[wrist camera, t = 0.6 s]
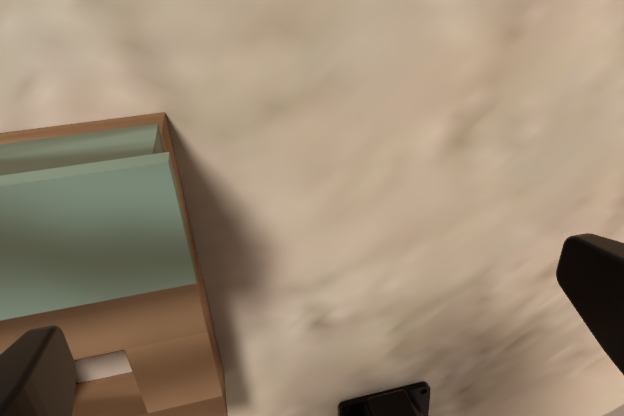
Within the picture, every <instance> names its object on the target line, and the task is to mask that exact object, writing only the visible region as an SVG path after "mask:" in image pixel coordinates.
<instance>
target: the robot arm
mask: <svg viewBox="0 0 624 416" xmlns="http://www.w3.org/2000/svg"><path fill="white" fill-rule="evenodd" d="M556 277H557V281H558V283H559V285H560V286H561V288H562V289H563V291H564V292H565V294H566V295H567V297H568V298H569V300H570V301H571V303H572V304H573V306H574V307H575V309H576V310H577V312H578V313H579V315H580V316H581V318H582V319H583V320H584V322H585V323H586V325H587V326H588V328H589V329H590V331H591V332H592V334H593V335H594V337H595V338H596V340H597V341H598V343H599V344H600V345H601V347H602V348H603V350H604V351H605V352H606V354H607V355H608V356H609V357H610V359H611V360H612V361H613V362H614V364H615V365H616V366H617V367H618V369H619V370H620V371H621V372H622V373H623V375H624V243H621V242H618V241H615V240H611V239H608V238H604V237H601V236H598V235H594V234H587V233H586V234H580V235H574V236H570V237H568V238H567V239H566V240H565V242H564V244H563V248H562V252H561V255H560V259H559V263H558V267H557V271H556ZM75 385H76V365H75V361H74V359H73V356H72V353H71V351H70V348H69V346H68V343H67V341H66V338H65V336H64V333H63V331H62V330H61V328H60V327H59V326H56V325H51V326H45V327H39V328H34V329H30V330H28V331H27V332H25V333H24V334H23V335H22V336H21V337H19V338H18V339H17V340H16V341H15V342H14V343H13V344H12V345H10V346H9V347H8V348H7V349H6V350H5V351H4V352H2V353H1V354H0V416H72V412H73V403H74V394H75ZM429 399H430V387H429V385H428V384H427V383H426V382H420V383H416V384H412V385H408V386H403V387H399V388H395V389H391V390H387V391H383V392H379V393H375V394H371V395H367V396H363V397H359V398H355V399H351V400H347V401H343V402H341V403H340V404H339V405H338V416H428V409H429Z"/></svg>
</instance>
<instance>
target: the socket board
mask: <svg viewBox="0 0 624 416" xmlns="http://www.w3.org/2000/svg"><path fill="white" fill-rule="evenodd" d="M51 325H56V326H59V327H60V328H61V330H62V331H63V333H64V336H65V338H66V341H67V343H68V346H69V348H70V351H71V353H72V356H73V359H74V360H77V359H81V358H86V357H91V356H96V355H100V354H105V353H110V352H115V351H120V350H124V349H125V352H126V355H127V358H128V360H129V363H130V366H131V369H132V371H133V372H130V373H126V374H121V375H116V376H112V377H107V378H103V379H98V380H93V381H89V382H84V383H79V384H76V385H75V394H74V403H73V412H72V416H228V415H227V403H226V391H225V380H224V372H223V367H222V363H221V358H220V354H219V350H218V345H217V341H216V336H215V332H214V328H213V323H212V319H211V314H210V310H209V305H208V301H207V297H206V292H205V288H204V283H203V279H202V275H201V270H200V266H199V261H198V257H197V252H196V248H195V244H194V239H193V235H192V230H191V226H190V222H189V217H188V213H187V208H186V204H185V199H184V195H183V191H182V186H181V182H180V177H179V173H178V169H177V164H176V160H175V155H174V151H173V146H172V142H171V138H170V133H169V129H168V124H167V120H166V116H165V112H164V113H156V114H148V115H140V116H132V117H124V118H117V119H109V120H101V121H93V122H85V123H77V124H69V125H61V126H54V127H46V128H38V129H30V130H22V131H14V132H6V133H0V354H1V353H2V352H4V351H5V350H6V349H7V348H8V347H9V346H10V345H12V344H13V343H14V342H15V341H16V340H17V339H18V338H19V337H21V336H22V335H23V334H24V333H25V332H27V331H28V330H30V329H34V328H39V327H45V326H51Z"/></svg>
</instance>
